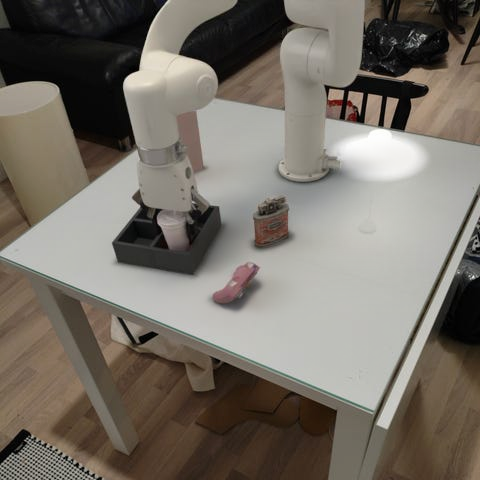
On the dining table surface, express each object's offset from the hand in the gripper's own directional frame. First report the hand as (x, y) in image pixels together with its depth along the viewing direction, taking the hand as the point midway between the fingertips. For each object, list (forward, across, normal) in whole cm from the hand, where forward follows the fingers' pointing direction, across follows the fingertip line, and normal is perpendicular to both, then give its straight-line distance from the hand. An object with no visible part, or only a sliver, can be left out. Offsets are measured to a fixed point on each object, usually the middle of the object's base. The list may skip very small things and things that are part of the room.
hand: (176, 233), depth 96 cm
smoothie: (+6, 0, 0) cm, 6 cm away
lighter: (+7, -17, -10) cm, 21 cm away
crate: (+6, +4, -4) cm, 9 cm away
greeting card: (+7, +13, -31) cm, 34 cm away
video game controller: (+7, -15, +7) cm, 18 cm away
